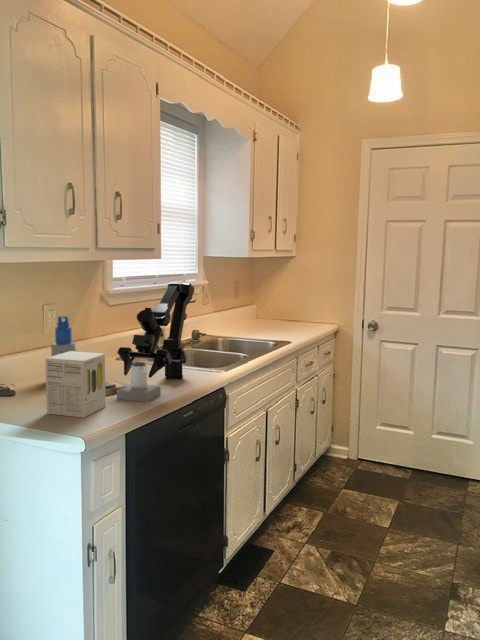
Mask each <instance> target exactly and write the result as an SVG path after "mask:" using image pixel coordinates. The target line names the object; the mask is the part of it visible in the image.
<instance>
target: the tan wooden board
mask: <svg viewBox="0 0 480 640" xmlns="http://www.w3.org/2000/svg"><path fill="white" fill-rule="evenodd" d="M128 385H129V384H127V383H125V382H121V381H117V380H116V381H112V382H109V381H108V382H107V381H105V397H106V396H111V395H117V390H119V389H121V388H123V387H125V386H128Z"/></svg>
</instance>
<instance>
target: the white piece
mask: <svg viewBox="0 0 480 640" xmlns="http://www.w3.org/2000/svg"><path fill="white" fill-rule="evenodd" d="M147 369H148V365H147V364H146V362H139V361H135V362H133V363H132V366H131V368H130V384H131V389H136V390H143V389H145V388H146V387H147V385H148V375H147V374H148V370H147Z"/></svg>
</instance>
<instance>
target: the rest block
mask: <svg viewBox="0 0 480 640" xmlns="http://www.w3.org/2000/svg"><path fill="white" fill-rule="evenodd" d="M160 395H161V385H157V384H147V387H146V388H145V389H143V390H136V389H131V383H130V384H128V386H125V387H123V388H121V389H119V390H117V393H116V400H121V401H132V402H142V403H147V402H149V401H151V400H153V399H155V398H156V397H158V396H160Z"/></svg>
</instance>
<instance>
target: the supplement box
mask: <svg viewBox="0 0 480 640" xmlns="http://www.w3.org/2000/svg"><path fill="white" fill-rule="evenodd" d="M105 355H106V354H105V353H101V352H88V351H87V352H86V351H77V350H76V351H69V352H65V353H62V354H58V355H55V356H52V355H51V356H49V357H46V358H45V388H46V391H45V392H46V395H45V397H46V414H49V415H57V416H64V417H65V416H66V417H67V416H68V417H76V418H84V419H85V417H88V416H90V415H92V414H93V413H95V412H97V411H100V410H101V409H103V408H105V407H106V396H105V382H106V360H105V359H106V356H105Z"/></svg>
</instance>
